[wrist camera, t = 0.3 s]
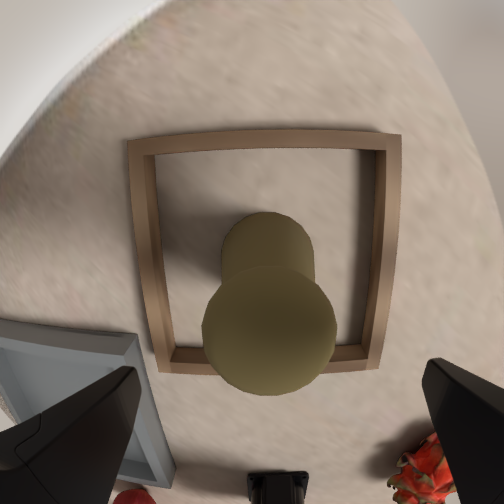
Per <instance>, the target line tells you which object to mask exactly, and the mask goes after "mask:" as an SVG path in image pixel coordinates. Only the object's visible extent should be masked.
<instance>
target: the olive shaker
mask: <svg viewBox="0 0 504 504" xmlns="http://www.w3.org/2000/svg"><path fill="white" fill-rule="evenodd" d="M221 260H222V285H221V286H220V287H219V289H218V290H217V291H216V293H215V294H214V295H213V297H212V298H211V299H210V301H209V303H208V305H207V308H206V311H205V315H204V318H203V322H202V326H201V327H202V337H203V346H204V352H205V354H206V356H207V358H208V360H209V362H210V364H211V366H212V367H213V369H214V370H215V371H216V372H217V373H218V374H219V375H220V376H221V377H222V378H223V379H224V380H225V381H226V382H227V383H228V384H230V385H232V386H234V387H236V388H238V389H239V390H241V391H243V392H247V393H251V394H256V395H260V396H278V395H282V394H286V393H290V392H294V391H296V390H298V389H300V388H302V387H304V386H306V385H308V384H309V383H311V382H312V381H313V380H314V379H315V378H316V377H317V376H318V375H319V374H320V373H321V372H322V371H323V370H324V369H325V367H326V366H327V364H328V362H329V360H330V358H331V356H332V354H333V353H334V349H335V342H336V334H337V323H336V319H335V315H334V311H333V307H332V305H331V303H330V301H329V300H328V298H327V297H326V295H325V294H324V292H323V291H322V290H321V288H320V287H319V285H317V284H316V283H315V269H314V251H313V247H312V244H311V240H310V237H309V236H308V234H307V233H306V232H305V230H304V229H303V227H302V226H301V225H300V224H298V223H297V222H296V221H294V220H293V219H291V218H290V217H288V216H285V215H282V214H278V213H275V212H260V213H257V214H254V215H251V216H248V217H245V218H244V219H242V220H241V221H240V222H238V223H237V224H236V225H234V226H233V228H232V229H231V230H230V232H229V233H228V235H227V236H226V237H225V241H224V244H223V247H222V251H221Z"/></svg>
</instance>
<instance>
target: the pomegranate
mask: <svg viewBox="0 0 504 504" xmlns="http://www.w3.org/2000/svg"><path fill="white" fill-rule="evenodd" d="M113 504H156V502H155V501H154V499H153V498H152V497H151V496H150V495H149V494H148V493H147V492H146V491H145V490H144V489H131V490H127V491H123V492H121V493H120V494H118V495H117V497H116V498H115V500H114V502H113Z"/></svg>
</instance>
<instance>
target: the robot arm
mask: <svg viewBox="0 0 504 504" xmlns="http://www.w3.org/2000/svg"><path fill="white" fill-rule="evenodd" d="M422 388H423V392H424V395H425V399H426V402H427V406H428V409H429V413H430V417H431V420H432V423H433V426H434V429H435V431H436V434H437V437H438V439H439V442H440V444H441V447H442V450H443V453H444V455H445V458H446V461H447V464H448V466H449V469H450V472H451V475H452V478H453V481H454V484H455V487H456V490H457V493H458V496H459V499H460V503H461V504H504V389H503V388H501V387H499V386H497V385H495V384H493V383H491V382H489V381H487V380H485V379H483V378H481V377H479V376H477V375H474V374H472V373H470V372H468V371H466V370H464V369H462V368H460V367H458V366H456V365H454V364H452V363H450V362H448V361H446V360H444V359H442V358H433V359H430V360H428V362H427V365H426V368H425V371H424V375H423V378H422ZM141 394H142V387H141V383H140V379H139V376H138V372H137V369H136V368H135V367H134V366H126V365H123V366H121V367H119V368H117V369H116V370H114V371H112V372H111V373H109V374H107V375H105V376H104V377H102V378H100V379H99V380H97V381H95V382H93V383H92V384H90V385H88V386H86V387H85V388H83V389H81V390H80V391H78V392H76V393H74V394H72V395H71V396H69V397H67V398H65V399H64V400H62V401H60V402H58V403H57V404H55V405H53V406H51V407H49V408H48V409H46V410H44V411H42V413H39V414H37V415H35V416H33V417H31V418H29V419H28V420H26V421H24V422H22V423H20V424H18V425H15V426H14V427H11V428H9V429H7V430H4V431H2V432H0V504H108V501H109V498H110V495H111V492H112V489H113V486H114V483H115V480H116V477H117V475H118V472H119V469H120V466H121V463H122V460H123V457H124V455H125V452H126V449H127V446H128V444H129V441H130V438H131V435H132V432H133V428H134V424H135V419H136V415H137V411H138V407H139V402H140V398H141ZM308 479H309V474H308V473H306V472H302V473H280V474H248V475H247V483H248V494H249V501H250V502H251V504H304V499H305V495H306V490H307V485H308Z"/></svg>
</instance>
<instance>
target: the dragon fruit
mask: <svg viewBox="0 0 504 504" xmlns="http://www.w3.org/2000/svg"><path fill="white" fill-rule="evenodd" d="M423 441H424V443H422V442H423ZM421 444H423V446H422V447H421V448H420V449H419V450H418V451H417V452H416V453H415V454H412V453H410V452H405V453H404V454H403V455H402V456H401V457H400V458H399V460H398V463H397V465H396V467H401V473H400V474H397V475H393V476H392V477H391V478H390V479H389V480H388V481H387V487H389V488H390V487H391V486H390V485H394V486H393V489H394V490H395V487H396V488H397V489H398V491H397V492H395V493H394V495H393V501H395V502H397V503H398V504H445V497H446V496H447V495H448V494H450V493H453V492H456V491H457V490H456V487H455V484H454V481H453V478H452V475H451V472H450V469H449V466H448V464H447V461H446V458H445V455H444V453H443V450H442V447H441V444H440V442H439V439H438V437H437V434H436V432H434V433H433V434H432V435H430V436H428V437H425V438H424V439H423V440H422V441H421V443H420V445H421ZM420 445H419V446H420Z"/></svg>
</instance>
